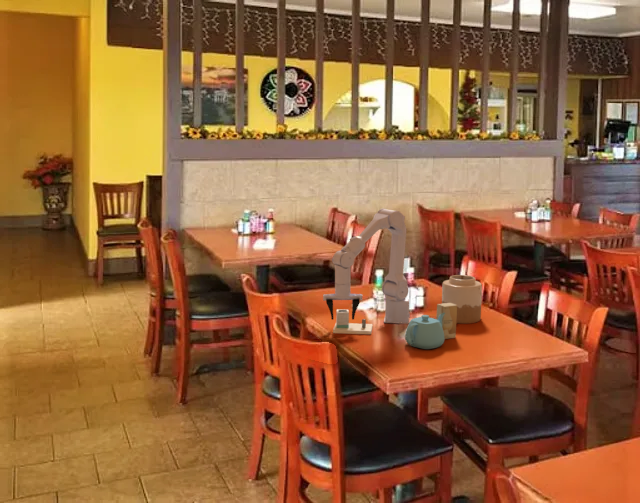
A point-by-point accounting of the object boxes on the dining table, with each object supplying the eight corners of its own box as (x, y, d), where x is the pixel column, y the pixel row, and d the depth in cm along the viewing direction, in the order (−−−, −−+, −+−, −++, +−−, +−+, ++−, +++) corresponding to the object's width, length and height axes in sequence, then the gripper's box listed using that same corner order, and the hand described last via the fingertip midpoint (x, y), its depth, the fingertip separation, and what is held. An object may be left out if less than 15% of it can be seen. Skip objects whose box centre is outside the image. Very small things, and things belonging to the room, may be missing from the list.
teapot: (458, 314, 259) (423, 323, 248) (457, 344, 261) (422, 354, 250) (431, 307, 269) (396, 315, 257) (430, 336, 271) (395, 345, 259)
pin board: (372, 327, 282) (372, 316, 281) (371, 334, 272) (371, 323, 272) (335, 325, 284) (335, 315, 283) (333, 333, 274) (333, 321, 273)
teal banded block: (348, 324, 281) (348, 309, 280) (348, 328, 276) (348, 312, 275) (336, 324, 281) (336, 309, 280) (336, 328, 276) (336, 312, 275)
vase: (464, 326, 284) (465, 283, 281) (433, 318, 295) (434, 276, 292) (488, 319, 294) (490, 277, 291) (457, 311, 305) (459, 271, 302)
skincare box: (442, 339, 266) (443, 306, 264) (434, 336, 270) (435, 304, 267) (456, 337, 269) (457, 304, 267) (449, 334, 272) (450, 302, 270)
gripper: (361, 280, 280) (361, 315, 282) (323, 281, 279) (323, 316, 282) (363, 284, 273) (362, 320, 275) (323, 285, 272) (323, 321, 275)
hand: (342, 318), depth 278 cm, fingers open, 7 cm apart
